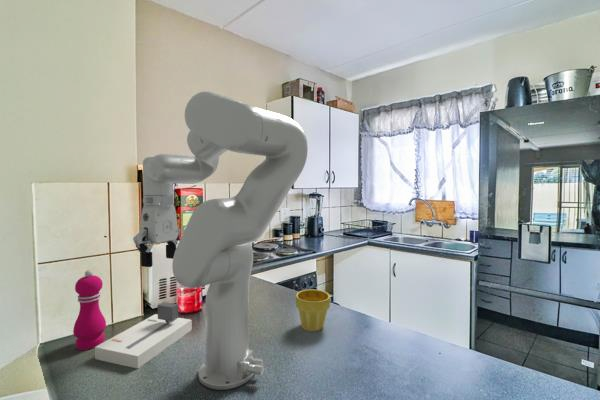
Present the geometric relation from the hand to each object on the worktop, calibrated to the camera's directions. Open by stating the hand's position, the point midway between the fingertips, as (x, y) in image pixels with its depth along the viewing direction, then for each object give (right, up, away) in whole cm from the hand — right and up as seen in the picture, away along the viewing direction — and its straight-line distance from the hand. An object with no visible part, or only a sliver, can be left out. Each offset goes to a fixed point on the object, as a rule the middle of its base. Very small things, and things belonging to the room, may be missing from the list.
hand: (159, 262), depth 86 cm
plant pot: (+44, -21, +7) cm, 49 cm away
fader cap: (+2, -17, +1) cm, 18 cm away
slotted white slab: (-1, -21, -4) cm, 21 cm away
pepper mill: (-16, -21, -4) cm, 27 cm away
